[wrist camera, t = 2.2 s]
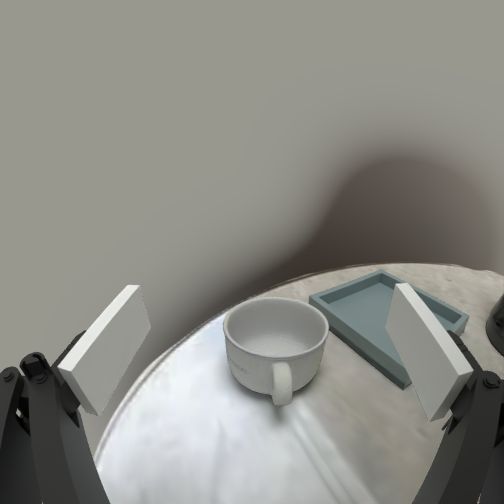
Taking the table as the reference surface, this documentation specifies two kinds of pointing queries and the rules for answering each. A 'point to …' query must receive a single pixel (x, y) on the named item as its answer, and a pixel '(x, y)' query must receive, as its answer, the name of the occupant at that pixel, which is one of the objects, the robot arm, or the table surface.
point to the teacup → (275, 345)
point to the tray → (377, 319)
